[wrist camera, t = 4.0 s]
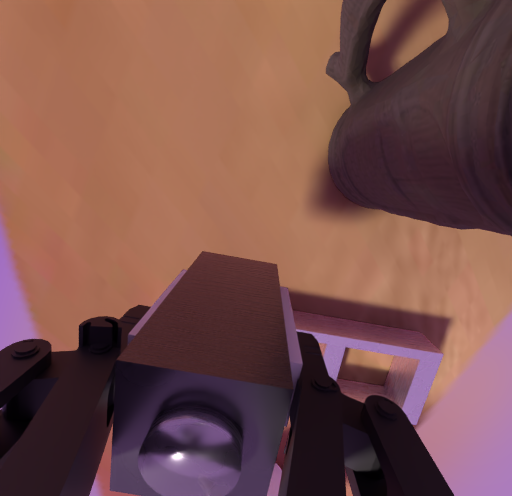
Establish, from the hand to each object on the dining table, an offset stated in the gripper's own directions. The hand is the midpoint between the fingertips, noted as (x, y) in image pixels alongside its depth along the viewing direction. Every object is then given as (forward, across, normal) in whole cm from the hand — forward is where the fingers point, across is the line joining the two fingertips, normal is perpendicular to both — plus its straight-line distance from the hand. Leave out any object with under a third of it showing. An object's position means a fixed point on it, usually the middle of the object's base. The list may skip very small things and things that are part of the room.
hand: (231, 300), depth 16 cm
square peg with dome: (+1, 0, 0) cm, 1 cm away
